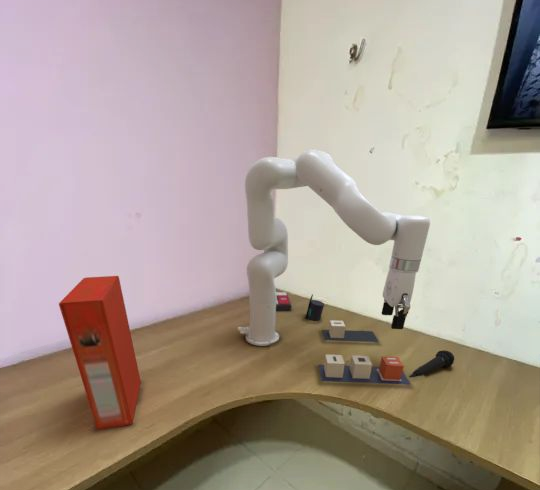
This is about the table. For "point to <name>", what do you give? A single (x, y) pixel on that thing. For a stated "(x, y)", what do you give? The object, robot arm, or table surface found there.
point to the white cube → (334, 366)
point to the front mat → (374, 378)
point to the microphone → (435, 363)
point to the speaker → (314, 310)
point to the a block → (336, 329)
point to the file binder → (103, 349)
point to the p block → (360, 367)
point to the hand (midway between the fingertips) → (391, 321)
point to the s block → (391, 368)
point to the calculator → (282, 302)
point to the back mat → (352, 336)
